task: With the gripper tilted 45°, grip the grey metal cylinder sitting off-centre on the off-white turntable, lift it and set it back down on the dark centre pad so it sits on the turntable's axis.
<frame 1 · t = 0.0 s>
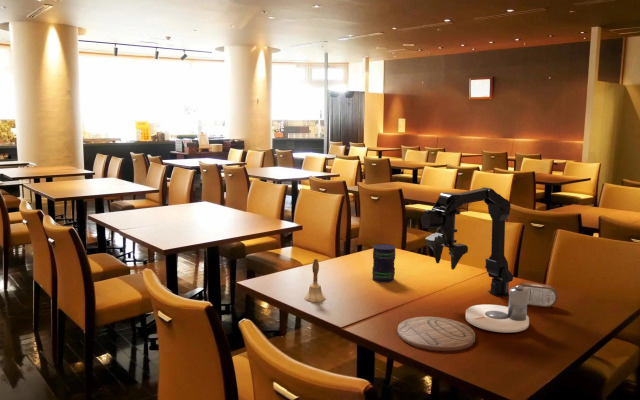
hand: (445, 266, 203), 15 cm above the table, tool pointing down, fingers open, 9 cm apart
tin: (535, 305, 204), on the table
hand bell: (315, 299, 208), on the table
turntable: (496, 317, 185), point 2 cm above the table, hinge at 0.0°, touching grey metal cylinder
trivet: (435, 336, 174), on the table
storage jar: (383, 279, 234), on the table
grey metal cylinder: (516, 317, 182), point 3 cm above the table, touching turntable
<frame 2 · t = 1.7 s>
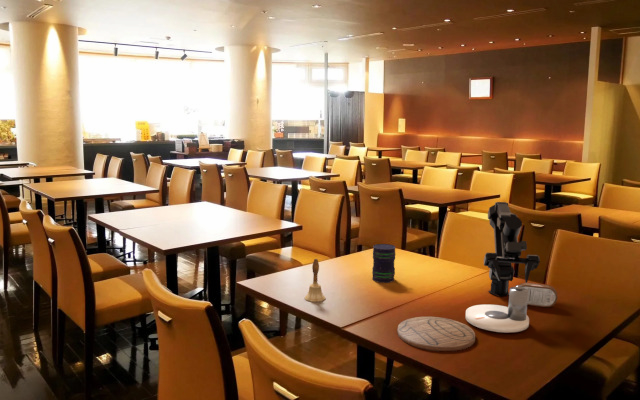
hand: (513, 281, 189), 13 cm above the table, tool tilted 45°, fingers open, 9 cm apart
nothing on the table moved.
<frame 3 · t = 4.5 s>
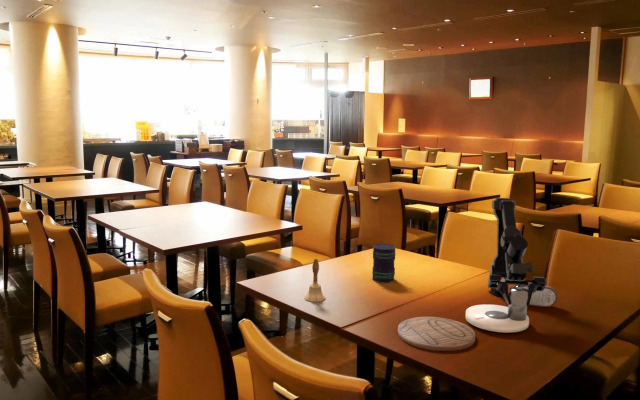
hand: (518, 304, 180), 8 cm above the table, tool tilted 45°, fingers closed on grey metal cylinder, 6 cm apart
grey metal cylinder: (516, 317, 182), point 3 cm above the table, touching gripper, turntable
everything else where it was.
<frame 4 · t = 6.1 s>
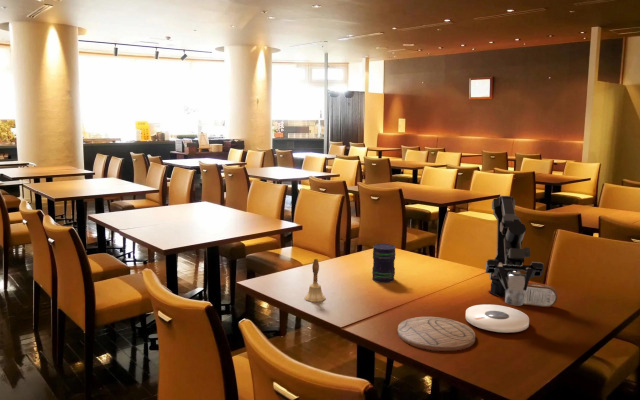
hand: (515, 289, 180), 13 cm above the table, tool tilted 45°, fingers closed on grey metal cylinder, 6 cm apart
turntable: (496, 317, 185), point 2 cm above the table, hinge at 0.0°
grey metal cylinder: (514, 302, 182), point 8 cm above the table, touching gripper
everything else where it was.
when the fingers open (9 cm above the table, at t = 8.0 s): grey metal cylinder drops 1 cm, resting on turntable.
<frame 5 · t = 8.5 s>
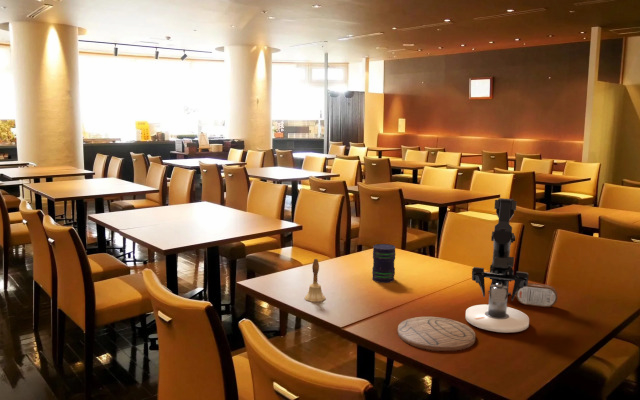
hand: (498, 298, 182), 10 cm above the table, tool tilted 45°, fingers open, 9 cm apart
turntable: (496, 317, 185), point 2 cm above the table, hinge at 0.0°, touching grey metal cylinder
grey metal cylinder: (497, 314, 185), point 3 cm above the table, touching turntable
everything else where it was.
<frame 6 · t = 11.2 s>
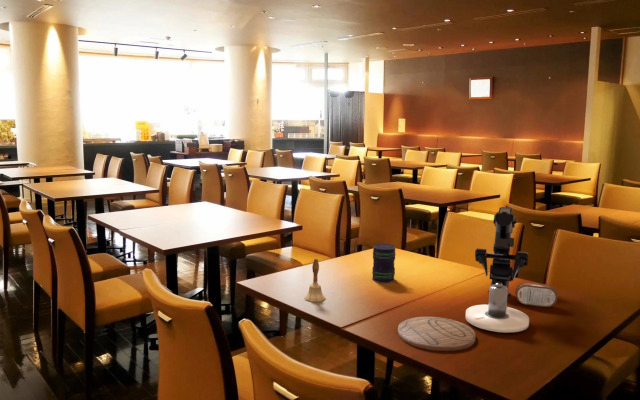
hand: (499, 276, 194), 14 cm above the table, tool tilted 45°, fingers open, 9 cm apart
nothing on the table moved.
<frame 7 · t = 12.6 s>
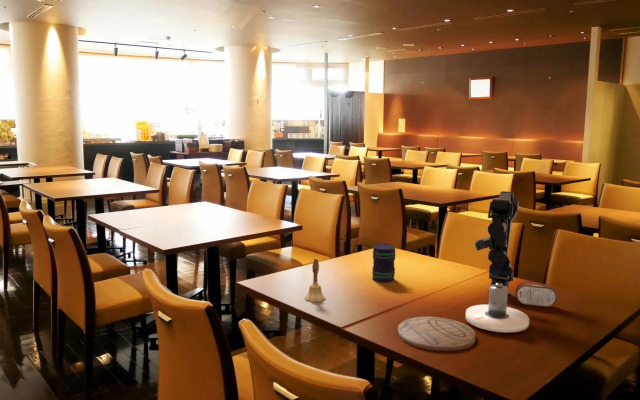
hand: (496, 272, 201), 13 cm above the table, tool pointing down, fingers open, 9 cm apart
nothing on the table moved.
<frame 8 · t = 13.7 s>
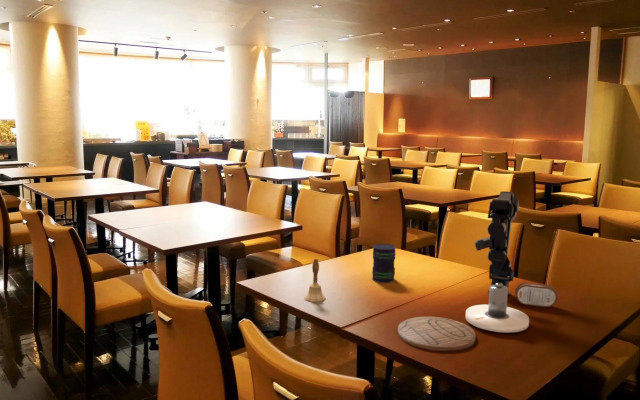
hand: (496, 272, 201), 13 cm above the table, tool pointing down, fingers open, 9 cm apart
nothing on the table moved.
at the end: grey metal cylinder 0.2 cm from the turntable (horizontally); grey metal cylinder tilted 0°; grey metal cylinder touching turntable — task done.
